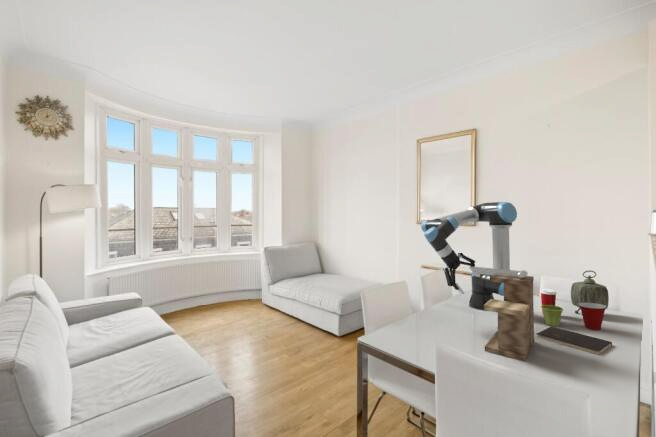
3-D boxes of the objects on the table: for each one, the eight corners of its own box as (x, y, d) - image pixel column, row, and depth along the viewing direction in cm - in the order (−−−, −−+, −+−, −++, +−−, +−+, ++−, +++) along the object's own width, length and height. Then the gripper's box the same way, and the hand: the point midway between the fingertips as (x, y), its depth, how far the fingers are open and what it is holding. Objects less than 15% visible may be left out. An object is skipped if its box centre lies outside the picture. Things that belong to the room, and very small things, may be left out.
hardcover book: (598, 356, 126) (598, 351, 126) (536, 338, 146) (536, 333, 146) (612, 346, 135) (612, 341, 135) (551, 330, 154) (551, 325, 154)
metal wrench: (470, 274, 148) (470, 268, 148) (475, 271, 154) (475, 265, 154) (524, 279, 134) (524, 273, 134) (527, 276, 140) (527, 270, 140)
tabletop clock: (598, 312, 176) (597, 269, 175) (611, 318, 167) (610, 272, 166) (570, 312, 177) (570, 269, 177) (582, 317, 168) (581, 272, 168)
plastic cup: (593, 323, 160) (592, 300, 160) (613, 331, 149) (612, 307, 149) (572, 324, 159) (572, 301, 159) (591, 332, 149) (591, 308, 148)
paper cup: (551, 312, 178) (551, 288, 178) (560, 317, 170) (559, 292, 170) (537, 312, 179) (536, 288, 178) (545, 317, 171) (544, 292, 171)
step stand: (484, 350, 133) (483, 281, 132) (497, 334, 150) (496, 272, 150) (525, 361, 123) (524, 286, 122) (534, 341, 140) (533, 276, 140)
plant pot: (567, 328, 155) (567, 310, 155) (546, 327, 157) (546, 310, 157) (557, 321, 164) (557, 305, 164) (537, 320, 166) (537, 304, 166)
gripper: (435, 268, 156) (460, 301, 157) (466, 238, 163) (490, 269, 163) (427, 268, 163) (451, 299, 164) (457, 239, 170) (480, 269, 171)
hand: (470, 284), depth 164 cm, fingers open, 13 cm apart
